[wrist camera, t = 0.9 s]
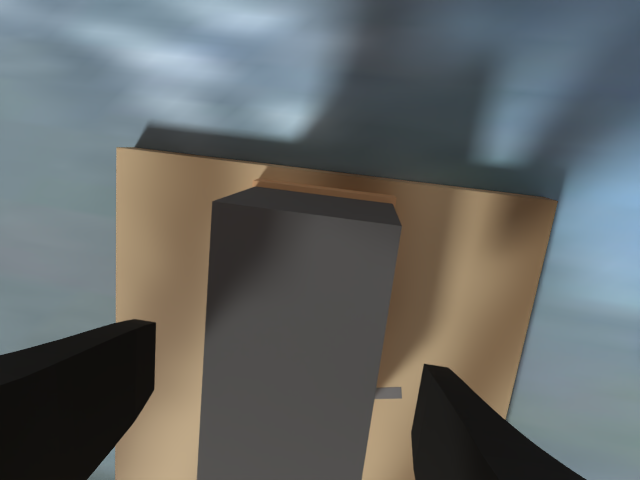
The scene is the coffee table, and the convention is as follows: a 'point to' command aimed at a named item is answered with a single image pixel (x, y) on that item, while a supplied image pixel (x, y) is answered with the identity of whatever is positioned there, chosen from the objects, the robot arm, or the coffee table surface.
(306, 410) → the block
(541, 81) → the coffee table surface
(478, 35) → the coffee table surface
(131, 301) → the oak board
